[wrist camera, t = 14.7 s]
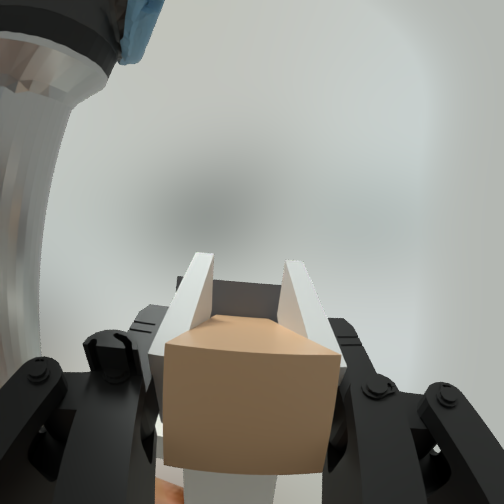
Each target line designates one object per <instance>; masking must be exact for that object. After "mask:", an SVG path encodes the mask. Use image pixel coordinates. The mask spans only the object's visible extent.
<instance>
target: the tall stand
mask: <svg viewBox="0 0 504 504" xmlns="http://www.w3.org/2000/svg"><path fill="white" fill-rule="evenodd" d="M155 427H156V432H157V448H156V458H161V459H164V458H163V423H161V421H160V416H159V414H158V417H157V421H156V424H155ZM183 478H184V504H273V498H274V492H275V486H276V480H277V475H244V474H227V473H216V472H206V471H198V470H190V469H184V468H183Z"/></svg>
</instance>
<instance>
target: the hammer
mask: <svg viewBox="0 0 504 504" xmlns="http://www.w3.org/2000/svg"><path fill="white" fill-rule="evenodd" d="M182 279H183V277H181V276H178V277H177V286H176V292H177V290H178V288H179V286H180V283H181V281H182ZM281 286H282V285H272V284H258V283H246V282H235V281H223V280H213V288H212V311H211V315H210V319H208V320H206V321H205V322H203V323H201V324H199V325H198V326H196V327H194V328H192V329H191V330H188V331H186V332H184V333H183V334H181V335H179V336H177V337H175V338H174V339H172V340H170V341H168V342H166V343H165V348H164V371H163V458H164V465H167V466H172V467H178V468H184V469H190V470H198V471H206V472H216V473H227V474H244V475H292V474H310V473H322V471H323V467H324V462H325V457H326V453H327V448H328V443H329V437H330V432H331V426H332V421H333V415H334V408H335V402H336V395H337V388H338V380H339V372H340V364H341V354H339V353H337V352H334V351H332V350H330V349H328V348H326V347H324V346H322V345H320V344H318V343H316V342H314V341H312V340H310V339H307V338H305V337H303V336H301V335H299V334H297V333H295V332H293V331H291V330H289V329H287V328H285V327H283V326H281V325H279V324H278V318H277V312H278V305H279V299H280V292H281Z"/></svg>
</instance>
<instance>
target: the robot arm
mask: <svg viewBox="0 0 504 504" xmlns="http://www.w3.org/2000/svg"><path fill="white" fill-rule="evenodd" d="M164 1H165V0H0V504H155V467H156V448H157V432H156V427H155V424H156V421H157V417H158V414H159V416H160V421H161V423H163V371H164V348H165V343H166V342H168V341H170V340H172V339H174V338H175V337H177V336H179V335H181V334H183V333H184V332H186V331H188V330H191V329H192V328H194V327H196V326H198V325H199V324H201V323H203V322H205V321H206V320H208V319H210V315H211V311H212V288H213V263H214V254H211V253H199V252H196V254H195V256H194V258H193V259H192V261H191V263H190V265H189V268H188V270H187V271H186V273H185V275H184V277H183V279H182V281H181V283H180V286H179V288H178V290H177V292H176V294H175V296H174V298H173V300H172V302H171V304H170V306H169V307H166V306H158V305H151V304H150V305H149V306H147V307H146V308H144V309H143V310H141V311H140V312H139V313H138V315H137V317H136V318H135V320H134V322H133V323H132V325H131V327H130V329H129V330H128V332H124V331H120V330H104V331H100V332H97V333H95V334H93V335H91V336H90V337H88V338H87V339H86V340H85V342H84V343H83V347H84V350H85V354H86V357H87V360H88V363H89V367H90V370H91V371H90V372H82V373H81V372H63V371H62V369H61V367H60V365H59V363H58V362H57V361H56V360H54V359H53V358H49V357H45V356H44V357H42V354H41V343H40V327H39V326H40V325H39V278H40V260H41V248H42V238H43V230H44V222H45V215H46V208H47V203H48V197H49V192H50V187H51V182H52V177H53V173H54V168H55V164H56V160H57V156H58V152H59V149H60V145H61V141H62V138H63V135H64V132H65V128H66V125H67V122H68V119H69V116H70V113H71V110H72V109H73V108H74V107H75V106H76V105H77V104H78V103H80V102H82V101H83V100H85V99H87V98H88V97H90V96H92V95H94V94H95V93H97V92H98V91H101V90H102V89H103V88H104V87H105V86H106V83H107V81H108V78H109V75H110V74H111V71H112V69H113V67H114V65H115V63H116V62H117V61H118V63H119V64H120V65H127V64H135V63H138V62H139V61H140V60H141V59H142V57H143V54H144V52H145V48H146V46H147V44H148V42H149V39H150V37H151V34H152V31H153V28H154V26H155V24H156V21H157V19H158V16H159V14H160V12H161V9H162V6H163V3H164ZM277 318H278V324H279V325H281V326H283V327H285V328H287V329H289V330H291V331H293V332H295V333H297V334H299V335H301V336H303V337H305V338H307V339H310V340H312V341H314V342H316V343H318V344H320V345H322V346H324V347H326V348H328V349H330V350H332V351H334V352H337V353H339V354H341V364H340V372H339V380H338V388H337V395H336V402H335V408H334V415H333V421H332V426H331V432H330V437H329V443H328V448H327V453H326V457H325V462H324V467H323V471H322V476H323V477H322V504H504V450H503V448H502V447H501V445H500V444H499V442H498V441H497V439H496V438H495V436H494V435H493V434H492V432H491V431H490V430H489V428H488V427H487V425H486V424H485V423H484V421H483V420H482V419H481V417H480V416H479V415H478V413H477V412H476V410H475V409H474V408H473V406H472V405H471V404H470V403H469V401H468V400H467V399H466V397H465V396H464V395H463V394H462V392H460V390H459V389H457V388H456V387H454V386H453V385H451V384H449V383H444V382H436V383H433V384H431V385H429V387H428V389H427V390H426V392H425V393H424V395H421V394H413V393H405V392H401V391H399V390H398V388H397V387H396V385H395V383H394V382H392V381H391V380H390V379H389V378H387V377H385V376H383V375H381V374H377V373H376V371H375V369H374V367H373V365H372V363H371V361H370V359H369V357H368V355H367V353H366V351H365V349H364V347H363V346H362V343H361V341H360V339H359V338H358V335H357V333H356V331H355V329H354V328H353V326H352V325H350V324H349V323H348V322H347V321H346V320H345V319H344V318H327V316H326V314H325V311H324V309H323V307H322V304H321V302H320V299H319V297H318V295H317V292H316V290H315V288H314V286H313V283H312V281H311V279H310V276H309V274H308V272H307V270H306V267H305V265H304V263H303V261H294V260H285V265H284V273H283V280H282V286H281V292H280V299H279V305H278V312H277ZM436 444H437V445H438V446H439V448H440V450H441V451H440V452H439V453H437V452H435V451H434V450H433V448H434V447H435V446H436Z"/></svg>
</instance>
